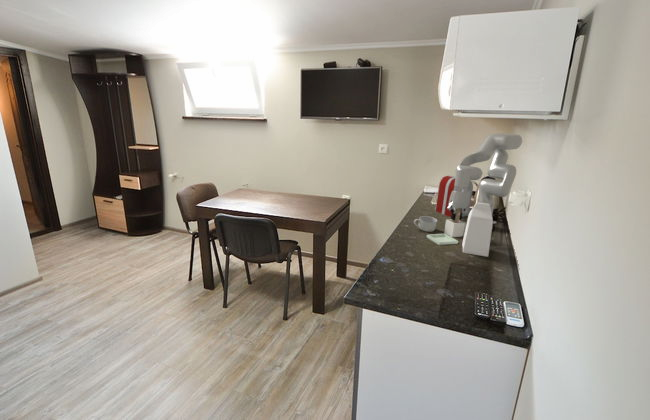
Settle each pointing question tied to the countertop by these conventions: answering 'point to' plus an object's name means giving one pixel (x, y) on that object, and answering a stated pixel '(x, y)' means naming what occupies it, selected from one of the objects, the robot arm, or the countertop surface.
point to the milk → (478, 230)
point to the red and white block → (445, 192)
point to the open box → (454, 228)
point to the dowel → (457, 216)
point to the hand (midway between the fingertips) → (455, 219)
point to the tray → (442, 239)
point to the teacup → (426, 223)
